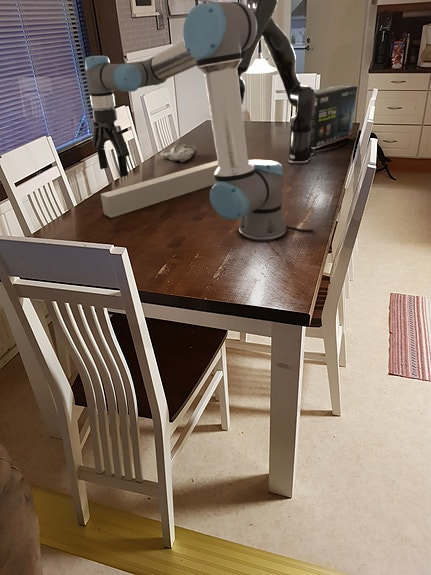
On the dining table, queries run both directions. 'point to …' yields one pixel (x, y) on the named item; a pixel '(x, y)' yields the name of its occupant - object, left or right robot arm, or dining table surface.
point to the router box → (332, 114)
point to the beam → (158, 189)
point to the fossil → (179, 152)
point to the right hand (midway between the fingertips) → (234, 168)
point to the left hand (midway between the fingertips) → (113, 172)
